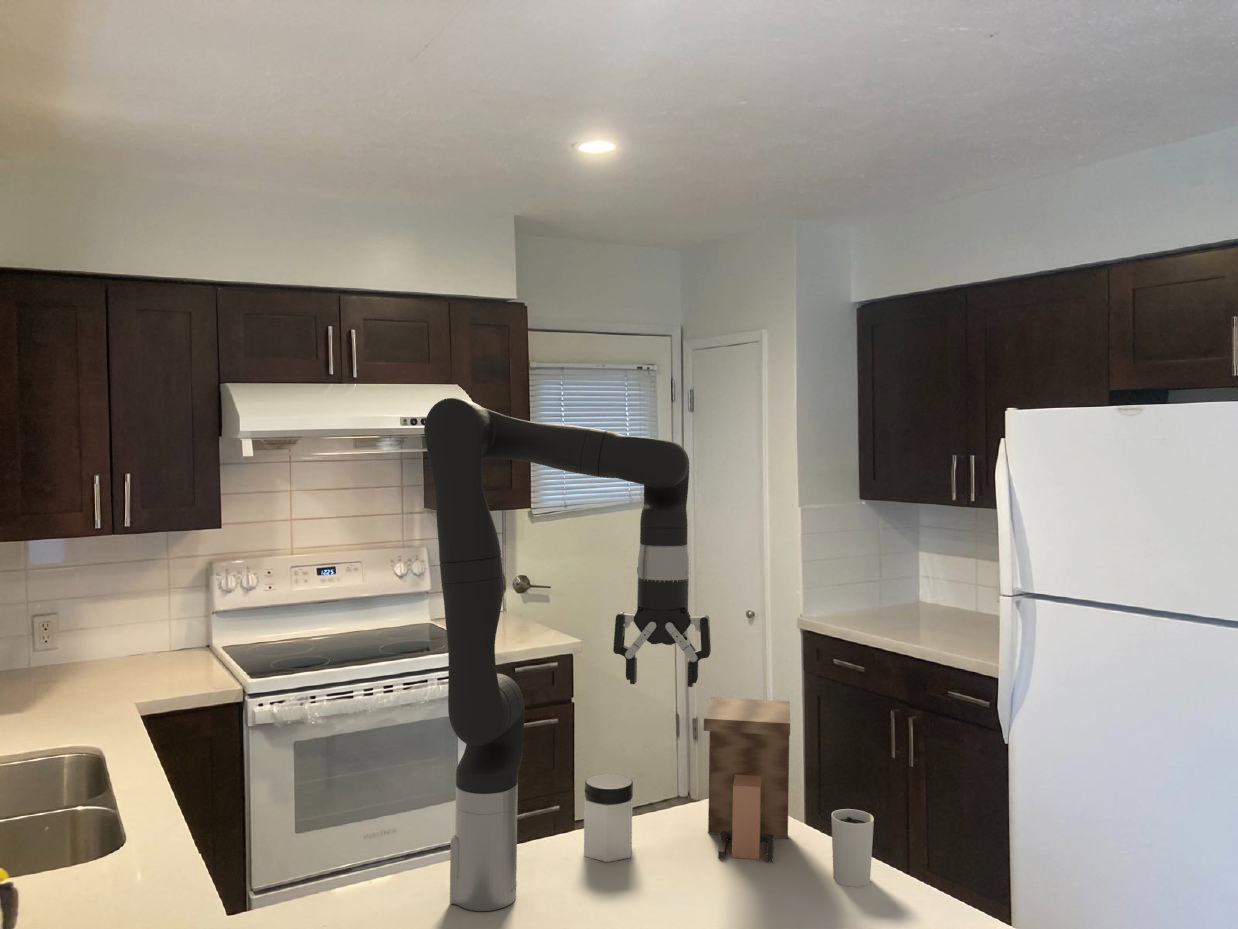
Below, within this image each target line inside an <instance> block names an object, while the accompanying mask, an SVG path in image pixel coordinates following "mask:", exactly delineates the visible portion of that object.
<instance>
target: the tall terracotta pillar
mask: <svg viewBox="0 0 1238 929" xmlns="http://www.w3.org/2000/svg"><path fill="white" fill-rule="evenodd" d="M760 828H761V776H749V775H735V777H734V783H733V822H732V841H731V857H732V858H738V859H748V860H749V859H751V860H760V853H761V843H760Z"/></svg>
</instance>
